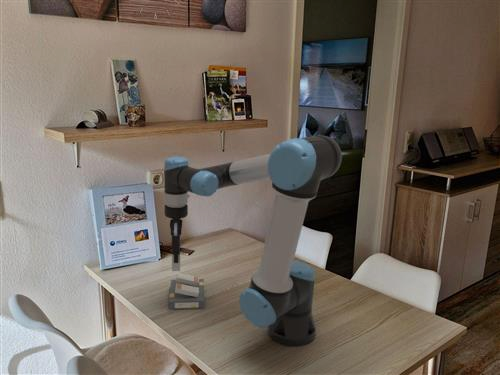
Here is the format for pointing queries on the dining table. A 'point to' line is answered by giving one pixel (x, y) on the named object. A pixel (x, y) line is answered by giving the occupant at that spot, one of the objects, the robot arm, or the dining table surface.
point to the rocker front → (186, 290)
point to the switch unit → (186, 297)
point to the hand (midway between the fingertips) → (176, 270)
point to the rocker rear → (187, 279)
